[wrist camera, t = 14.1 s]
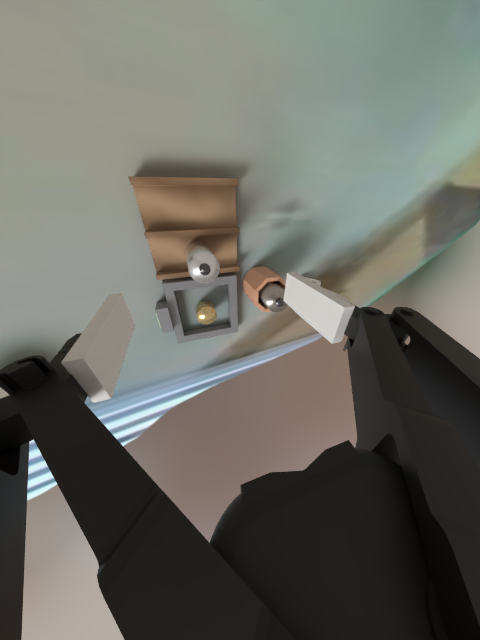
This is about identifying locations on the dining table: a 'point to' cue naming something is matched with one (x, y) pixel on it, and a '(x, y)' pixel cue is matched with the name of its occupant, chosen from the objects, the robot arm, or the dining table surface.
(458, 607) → the robot arm
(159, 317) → the cradle
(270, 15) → the dining table surface
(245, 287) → the octagonal tan cylinder
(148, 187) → the trough board
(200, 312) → the gold ball
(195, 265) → the cell
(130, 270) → the dining table surface
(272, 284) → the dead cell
